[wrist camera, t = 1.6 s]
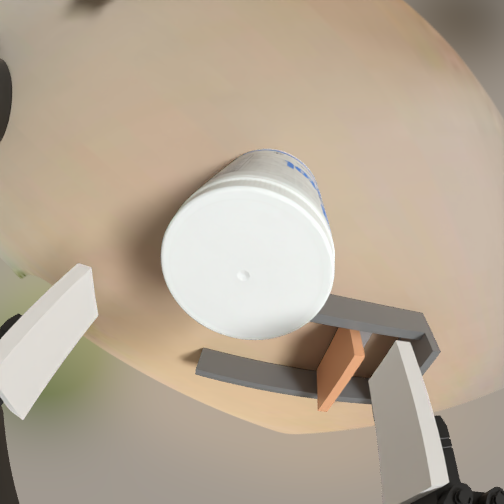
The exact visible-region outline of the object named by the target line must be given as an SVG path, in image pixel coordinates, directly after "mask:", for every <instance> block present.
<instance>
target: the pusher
mask: <svg viewBox="0 0 504 504" xmlns="http://www.w3.org/2000/svg"><path fill="white" fill-rule="evenodd" d="M371 334H372V333H369V332H363V331H358V330H352V329H346V328H341V327H339V328H338V330H337V332H336V334H335V336H334V338H333V340H332V342H331V344H330V346H329V348H328V350H327V351H326V353H325V355H324V357H323V359H322V361H321V363H320V364H319V366H318V368H317V398H318V411H324V412H327V411H328V409H329V408H330V407H331V405H332V404H333V403H334V401H335V400H336V399H337V397H338V396H339V395H340V393H341V392H342V390H343V389H344V388H345V386H346V385H347V383H348V382H349V380H350V379H351V377H352V376H353V374H354V373H355V371H356V370H357V368H358V367H359V365H360V364H361V362H362V361H363V359H364V358H365V353H364V349H363V348H364V346H365V345H366V343H367V341H368V340H369V338H370V336H371Z"/></svg>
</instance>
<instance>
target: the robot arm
mask: <svg viewBox="0 0 504 504" xmlns="http://www.w3.org/2000/svg"><path fill="white" fill-rule="evenodd" d="M11 97H12V85H11V76H10V72H9V69H8V66H7V64H6V63H5V62H4V61H3V60H2V59H0V140H1V138H2V136H3V134H4V132H5V129H6V126H7V122H8V118H9V114H10V108H11ZM97 317H98V311H97V305H96V298H95V291H94V284H93V277H92V268H91V267H89V266H86V265H83V264H80V263H78V264H76V265H75V266H74V267H73V268H72V269H71V270H70V271H68V272H67V273H66V274H65V275H64V276H63V277H62V278H61V279H60V280H59V281H58V282H56V283H55V284H54V285H53V286H52V287H51V288H50V289H49V290H48V291H47V292H46V293H45V294H44V295H43V296H42V297H41V298H40V299H39V300H38V301H37V302H35V303H34V304H33V306H31V307H30V308H29V309H28V310H27V312H26V313H25V314H24V315H23V316H22V315H20V314H17V315H15V316H13V317H11V318H10V319H8V320H7V321H6V322H5V323H4V324H3V325H2V326H1V327H0V504H19V501H18V497H17V493H16V490H15V486H14V481H13V477H12V472H11V467H10V462H9V457H8V450H7V444H6V436H5V427H4V417H3V410H2V407H1V405H2V404H3V402H4V403H5V405H6V406H7V407H8V408H9V410H10V411H11V412H13V413H14V414H15V415H17V416H18V417H20V418H21V419H22V420H24V418H25V416H26V415H27V413H28V412H29V410H30V409H31V407H32V406H33V404H34V403H35V401H36V400H37V398H38V397H39V395H40V393H41V392H42V391H43V389H44V388H45V386H46V385H47V383H48V382H49V381H50V379H51V378H52V376H53V375H54V373H55V372H56V371H57V369H58V368H59V367H60V365H61V364H62V362H63V361H64V360H65V358H66V357H67V355H68V354H69V353H70V352H71V350H72V349H73V347H74V346H75V345H76V343H77V342H78V341H79V340H80V338H81V337H82V336H83V334H84V333H85V332H86V331H87V329H88V328H89V327H90V325H91V324H92V323H93V322H94V320H95V319H96V318H97ZM368 383H369V388H370V394H371V400H372V407H373V413H374V420H375V428H376V435H377V443H378V452H379V461H380V472H381V484H382V499H383V504H504V491H503V489H501V488H500V487H494V488H493V489H491V490H489V491H488V492H486V493H484V492H474V491H472V490H471V488H470V487H469V486H468V485H467V484H464V483H461V482H460V479H459V475H458V471H457V465H456V461H455V457H454V452H453V448H451V446H452V444H451V440H450V439H449V437H450V436H449V432H448V429H447V425H446V424H445V422H444V421H443V419H442V418H441V416H434V414H433V410H432V407H431V403H430V400H429V397H428V393H427V390H426V387H425V384H424V381H423V378H422V374H421V371H420V369H419V366H418V363H417V360H416V357H415V354H414V351H413V349H412V346H411V343H410V342H405V341H398V340H396V341H395V342H394V344H393V345H392V347H391V349H390V350H389V352H388V353H387V355H386V356H385V358H384V359H383V361H382V362H381V363H380V365H379V366H378V368H377V369H376V371H375V372H374V373H373V375H372V376H371V378H370V379H369V380H368Z"/></svg>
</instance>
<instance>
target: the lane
mask: <svg viewBox="0 0 504 504" xmlns="http://www.w3.org/2000/svg"><path fill="white" fill-rule="evenodd" d="M310 322H315V323H320V324H325V325H330V326H335V327H341V328H346V329H352V330H358V331H363V332H369V333H375V334H381V335H388V336H394V337H400V338H399V339H398V341H405V342H410V343H411V346H412V349H413V351H414V354H415V357H416V360H417V363H418V366H419V369H420V371H421V374H422V375H423V374H424V373H425V372H426V370H427V369H428V368H429V367H430V365H431V364H432V363H433V361H434V360H435V359H436V357H437V356H438V355H439V353H440V352H441V351H440V349H439V347H438V345H437V342H436V340H435V338H434V336H433V334H432V332H431V329H430V327H429V325H428V323H427V321H426V319H425V317H424V315H423V313H420V312H415V311H410V310H404V309H399V308H394V307H389V306H384V305H380V304H375V303H370V302H365V301H360V300H355V299H351V298H346V297H341V296H336V295H332V294H329V296H328V299H327V300H326V302H325V304H324V306H323V307H322V308H321V310H320V311H319V312H318V313H317V315H316V316H315V317H314V318H313V319H312V320H310ZM195 374H196V375H200V376H203V377H207V378H211V379H215V380H219V381H223V382H227V383H232V384H236V385H241V386H245V387H250V388H255V389H260V390H265V391H270V392H276V393H282V394H288V395H294V396H300V397H307V398H314V399H318V398H317V371H311V370H305V369H299V368H293V367H288V366H282V365H277V364H272V363H267V362H262V361H257V360H253V359H248V358H244V357H239V356H235V355H231V354H226V353H222V352H218V351H214V350H210V349H206V348H203V350H202V353H201V356H200V359H199V362H198V364H197V367H196V373H195ZM369 379H370V378H361V377H353V376H352V377H351V379H350V380H349V382H348V383H347V385H346V386H345V388H344V389H343V390H342V392H341V393H340V395H339V396H338V397H337V399H336V400H335V401H340V402H350V403H362V404H372V400H371V394H370V388H369V383H368V380H369ZM372 410H373V407H372ZM373 417H374V413H373ZM374 421H375V420H374Z"/></svg>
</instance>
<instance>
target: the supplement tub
mask: <svg viewBox="0 0 504 504" xmlns="http://www.w3.org/2000/svg"><path fill="white" fill-rule="evenodd" d="M334 263H335V251H334V244H333V239H332V234H331V230H330V226H329V223H328V219H327V215H326V212H325V208H324V205H323V202H322V198H321V195H320V192H319V188H318V185H317V183H316V180H315V178H314V176H313V174H312V173H311V171H310V170H309V169H308V167H307V166H306V165H305V164H304V163H303V162H302V161H300V160H299V159H298V158H296V157H295V156H293V155H291V154H289V153H287V152H284V151H281V150H277V149H257V150H253V151H250V152H247V153H245V154H243V155H241V156H240V157H238V158H237V159H235V160H234V161H233V162H231V163H230V164H229V165H227V166H226V167H225V168H224V169H222V170H221V171H220V172H219V173H217V174H216V175H215V176H214V177H212V178H211V179H210V180H209V181H207V182H206V183H205V184H204V185H203V186H202V187H200V188H199V189H198V190H197V191H196V192H195V193H194V194H192V195H191V196H190V197H189V198H188V199H187V200H186V201H185V202H184V203H183V204H182V206H181V207H180V209H179V210H178V211H177V213H176V215H175V216H174V217H173V219H172V220H171V222H170V223H169V225H168V227H167V229H166V232H165V234H164V237H163V241H162V246H161V266H162V272H163V276H164V279H165V282H166V284H167V287H168V289H169V291H170V293H171V294H172V296H173V297H174V299H175V300H176V302H177V303H178V304H179V305H180V307H181V308H182V309H183V310H184V311H185V312H186V313H187V314H188V315H189V316H190V317H192V318H193V319H194V320H196V321H197V322H198V323H200V324H201V325H203V326H205V327H206V328H208V329H210V330H213V331H215V332H217V333H220V334H223V335H226V336H229V337H233V338H238V339H245V340H264V339H272V338H276V337H280V336H283V335H286V334H289V333H291V332H293V331H295V330H297V329H299V328H301V327H302V326H304V325H305V324H307V323H308V322H309V321H310V320H312V319H313V318H314V317H315V316H316V315H317V313H318V312H319V311H320V310H321V308H322V307H323V306H324V304H325V302H326V300H327V299H328V296H329V294H330V292H331V289H332V285H333V280H334Z"/></svg>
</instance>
